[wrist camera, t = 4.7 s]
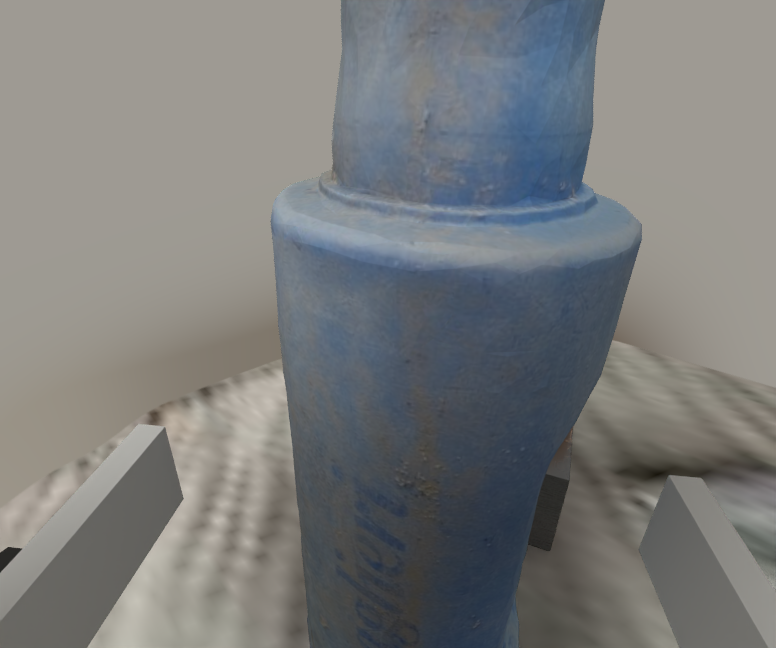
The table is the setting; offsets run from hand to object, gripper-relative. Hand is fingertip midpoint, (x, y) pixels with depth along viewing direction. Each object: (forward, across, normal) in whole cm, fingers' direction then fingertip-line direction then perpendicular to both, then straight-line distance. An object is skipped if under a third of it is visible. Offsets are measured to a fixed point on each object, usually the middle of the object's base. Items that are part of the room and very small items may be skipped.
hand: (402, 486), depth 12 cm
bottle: (+4, +1, -16) cm, 17 cm away
